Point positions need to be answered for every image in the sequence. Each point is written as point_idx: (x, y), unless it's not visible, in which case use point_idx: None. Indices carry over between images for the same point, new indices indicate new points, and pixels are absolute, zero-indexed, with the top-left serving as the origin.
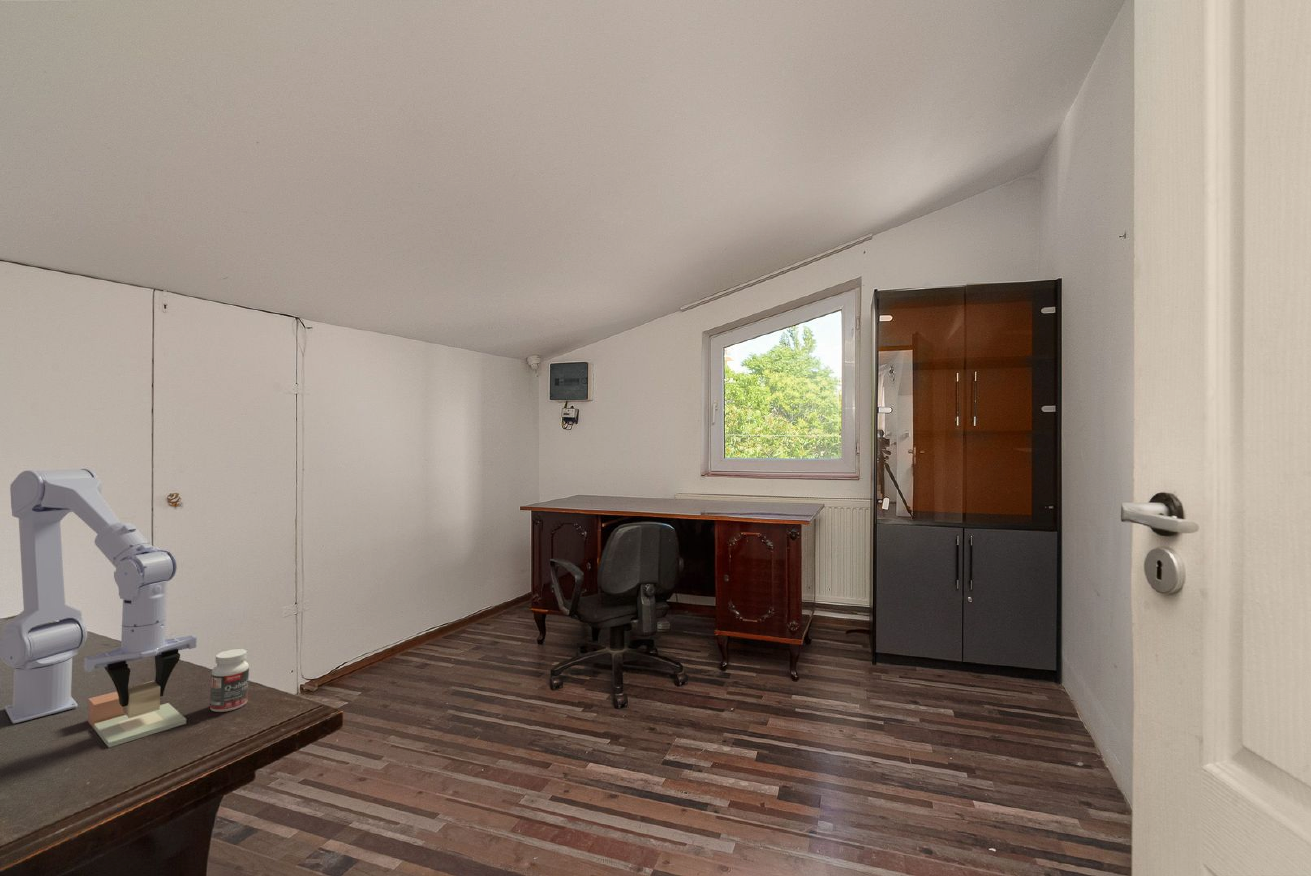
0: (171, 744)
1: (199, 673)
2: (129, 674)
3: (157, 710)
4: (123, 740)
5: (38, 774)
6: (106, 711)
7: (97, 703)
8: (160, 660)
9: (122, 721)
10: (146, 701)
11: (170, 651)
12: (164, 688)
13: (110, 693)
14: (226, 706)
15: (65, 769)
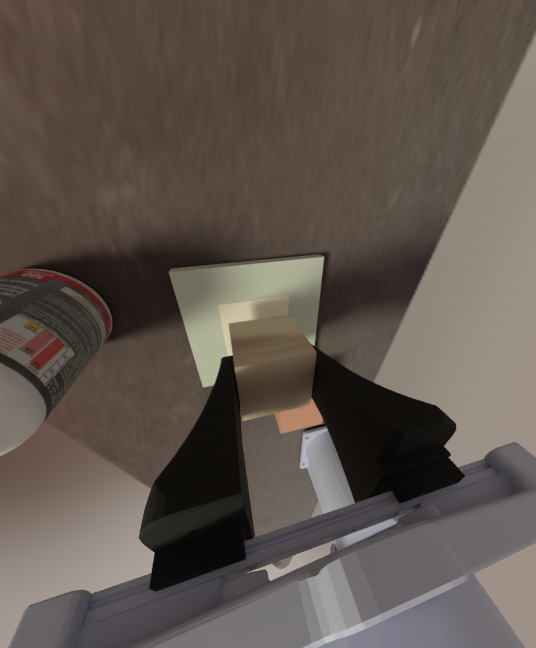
0: (211, 130)
1: (152, 477)
2: (367, 410)
3: None
4: (297, 258)
5: (420, 220)
6: None
7: None
8: (245, 492)
9: None
10: (264, 336)
11: (198, 567)
12: (219, 371)
13: (293, 429)
14: (46, 274)
15: (395, 202)
